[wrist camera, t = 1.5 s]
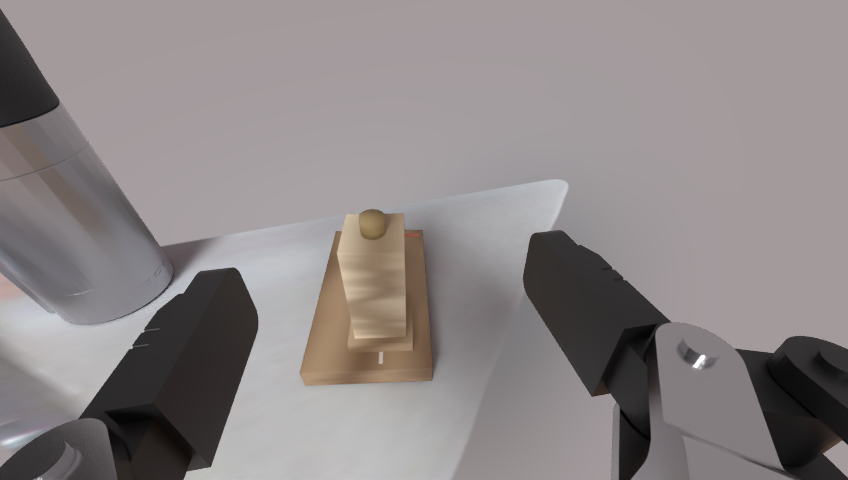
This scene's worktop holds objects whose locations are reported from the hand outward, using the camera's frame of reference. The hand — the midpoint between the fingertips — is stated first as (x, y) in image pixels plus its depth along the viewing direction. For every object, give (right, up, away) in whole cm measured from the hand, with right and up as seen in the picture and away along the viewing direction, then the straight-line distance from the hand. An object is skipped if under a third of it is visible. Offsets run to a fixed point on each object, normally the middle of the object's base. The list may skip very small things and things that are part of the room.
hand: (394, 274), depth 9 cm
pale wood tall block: (-3, -6, +18) cm, 19 cm away
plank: (-4, -5, +23) cm, 24 cm away
